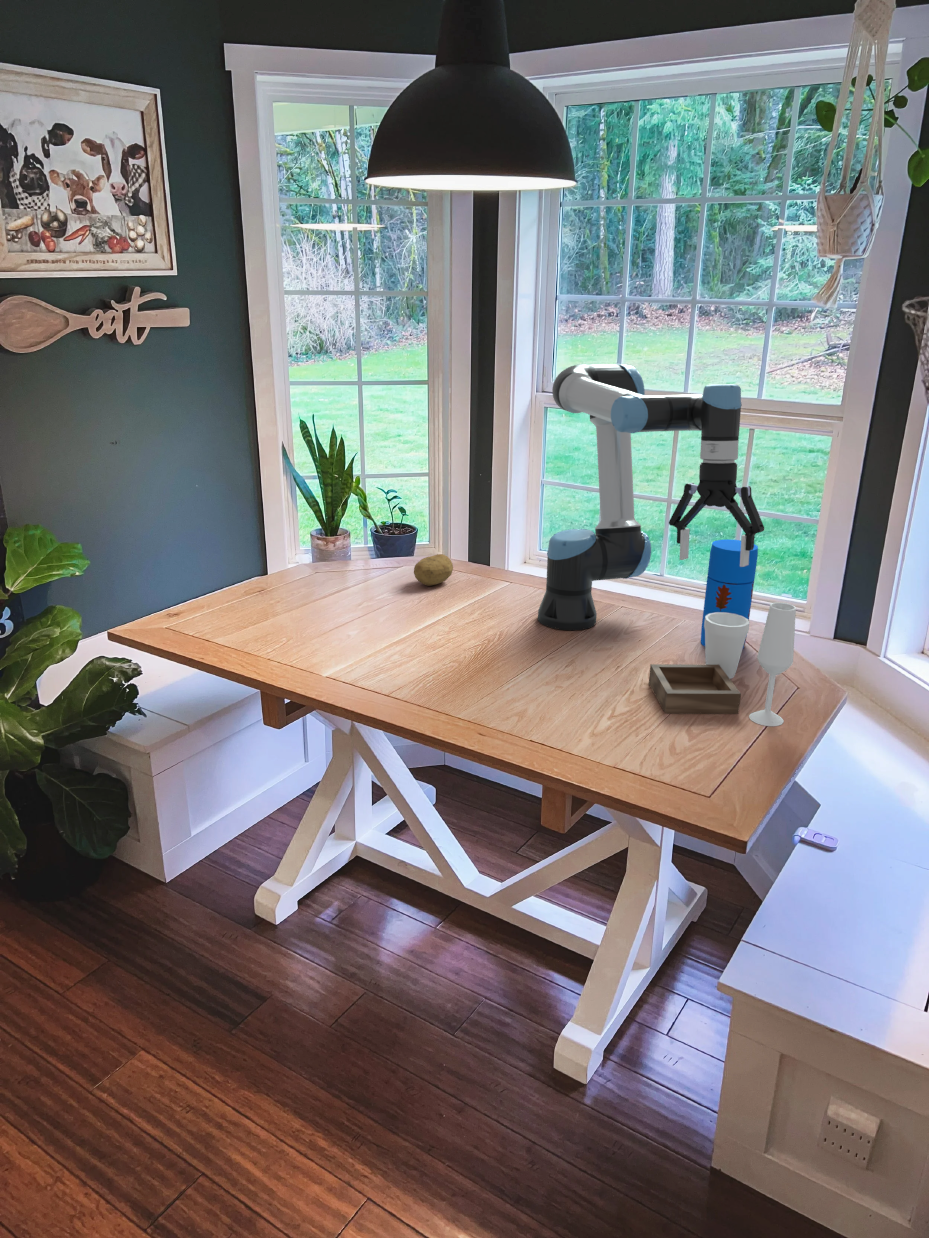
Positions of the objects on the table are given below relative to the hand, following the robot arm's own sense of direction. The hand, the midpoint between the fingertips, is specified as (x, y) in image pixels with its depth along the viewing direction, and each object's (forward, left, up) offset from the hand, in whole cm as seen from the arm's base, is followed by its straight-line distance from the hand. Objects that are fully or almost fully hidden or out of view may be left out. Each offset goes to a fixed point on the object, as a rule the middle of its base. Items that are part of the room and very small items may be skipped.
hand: (713, 562), depth 190 cm
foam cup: (-2, +5, -27) cm, 27 cm away
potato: (-66, -60, -27) cm, 93 cm away
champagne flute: (+21, +8, -27) cm, 35 cm away
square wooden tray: (+11, -5, -27) cm, 29 cm away
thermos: (-20, +11, -27) cm, 35 cm away
